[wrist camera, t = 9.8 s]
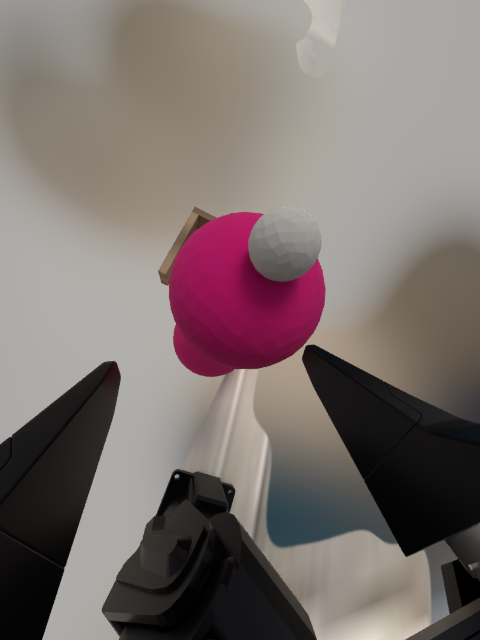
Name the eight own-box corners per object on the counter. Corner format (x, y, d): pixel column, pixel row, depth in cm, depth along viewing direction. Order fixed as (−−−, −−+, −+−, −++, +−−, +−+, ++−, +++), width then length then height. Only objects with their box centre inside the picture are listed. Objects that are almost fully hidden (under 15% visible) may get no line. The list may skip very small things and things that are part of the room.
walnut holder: (240, 317, 25) (247, 310, 22) (161, 282, 23) (158, 270, 20) (262, 257, 28) (270, 245, 25) (193, 224, 26) (194, 206, 23)
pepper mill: (249, 338, 24) (460, 231, 6) (213, 389, 22) (371, 504, 3) (203, 301, 24) (262, 54, 5) (161, 348, 21) (-19, 200, 3)
